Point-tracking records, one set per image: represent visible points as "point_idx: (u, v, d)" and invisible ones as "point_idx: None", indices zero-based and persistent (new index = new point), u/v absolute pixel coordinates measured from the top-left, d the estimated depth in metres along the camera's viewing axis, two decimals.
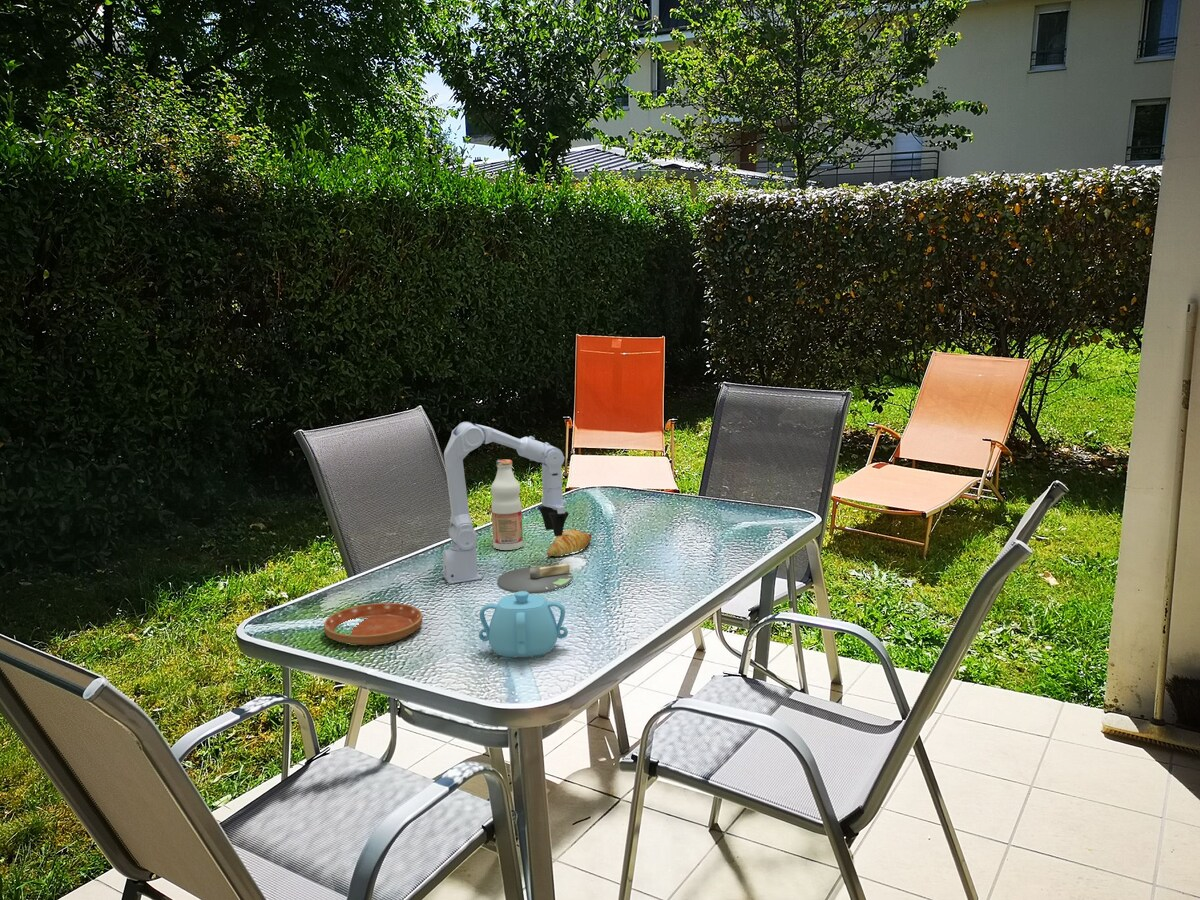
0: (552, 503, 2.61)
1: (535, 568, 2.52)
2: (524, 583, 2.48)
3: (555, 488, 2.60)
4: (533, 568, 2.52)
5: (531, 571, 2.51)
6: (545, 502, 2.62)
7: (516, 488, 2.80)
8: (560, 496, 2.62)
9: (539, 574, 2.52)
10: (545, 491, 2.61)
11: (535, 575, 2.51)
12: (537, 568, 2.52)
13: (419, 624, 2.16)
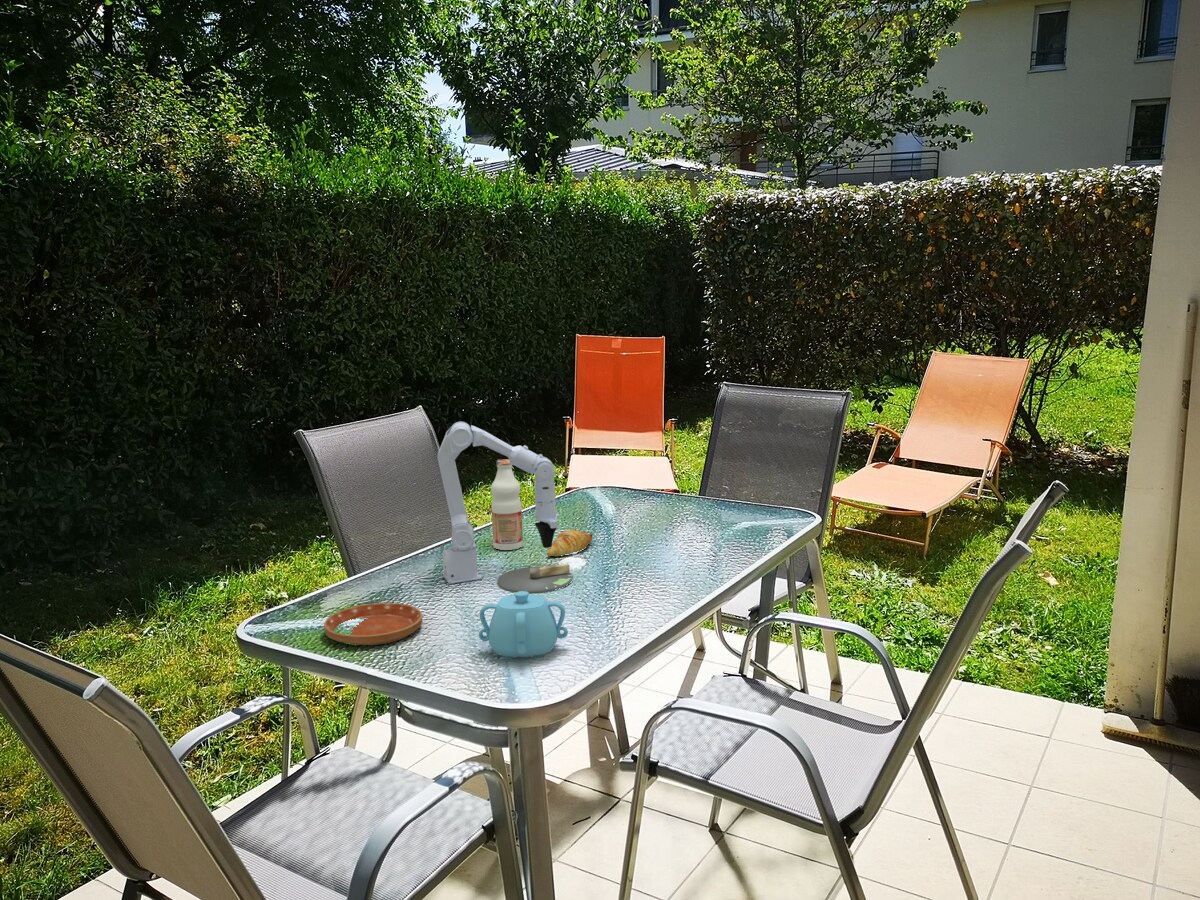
0: (545, 517, 2.55)
1: (535, 568, 2.52)
2: (524, 583, 2.48)
3: (548, 502, 2.54)
4: (533, 568, 2.52)
5: (531, 571, 2.51)
6: (538, 516, 2.56)
7: (516, 488, 2.80)
8: (553, 510, 2.56)
9: (539, 574, 2.52)
10: (538, 505, 2.55)
11: (535, 575, 2.51)
12: (537, 568, 2.52)
13: (419, 624, 2.16)
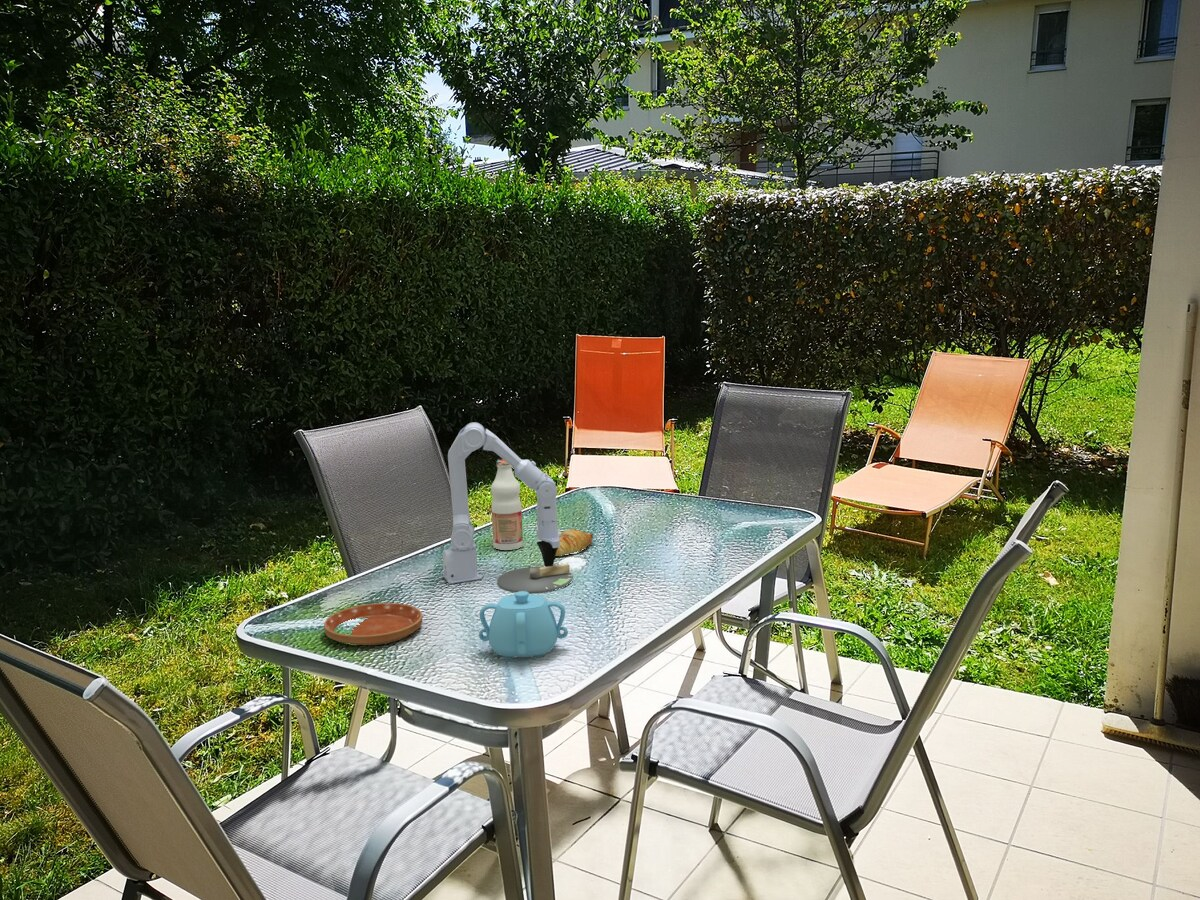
0: (547, 537, 2.55)
1: (535, 568, 2.52)
2: (524, 583, 2.48)
3: (550, 521, 2.54)
4: (533, 568, 2.52)
5: (531, 571, 2.51)
6: (540, 535, 2.56)
7: (516, 488, 2.80)
8: (555, 529, 2.56)
9: (539, 574, 2.52)
10: (540, 524, 2.55)
11: (535, 575, 2.51)
12: (537, 568, 2.52)
13: (419, 624, 2.16)
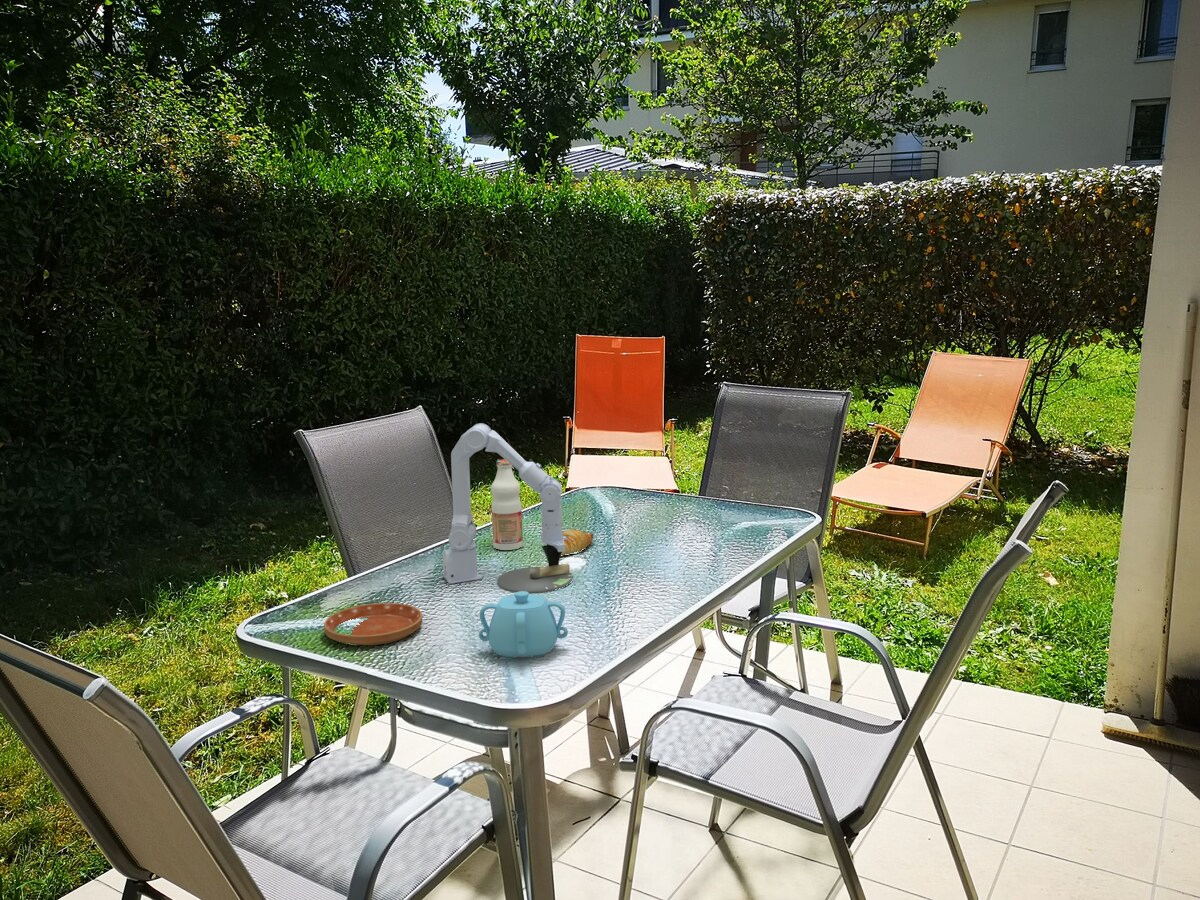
0: (552, 540, 2.51)
1: (535, 568, 2.52)
2: (524, 583, 2.48)
3: (555, 525, 2.51)
4: (533, 568, 2.52)
5: (531, 571, 2.51)
6: (545, 539, 2.52)
7: (516, 488, 2.80)
8: (560, 533, 2.52)
9: (539, 574, 2.52)
10: (545, 528, 2.51)
11: (535, 575, 2.51)
12: (537, 568, 2.52)
13: (419, 624, 2.16)
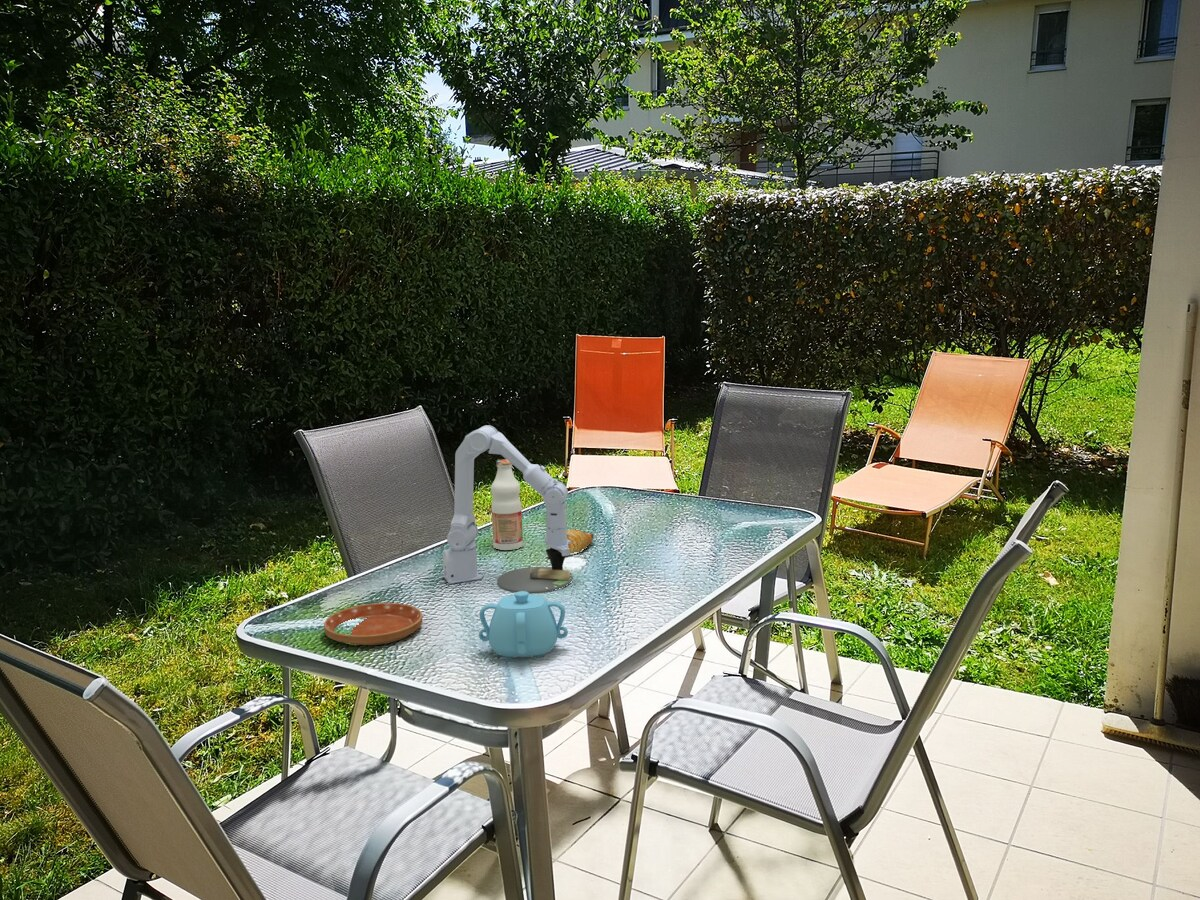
0: (556, 544, 2.48)
1: (535, 568, 2.52)
2: (524, 583, 2.48)
3: (559, 528, 2.47)
4: (533, 568, 2.52)
5: (530, 570, 2.52)
6: (549, 543, 2.48)
7: (516, 488, 2.80)
8: (564, 536, 2.49)
9: (537, 575, 2.51)
10: (549, 531, 2.48)
11: (532, 575, 2.51)
12: (536, 569, 2.51)
13: (419, 624, 2.16)
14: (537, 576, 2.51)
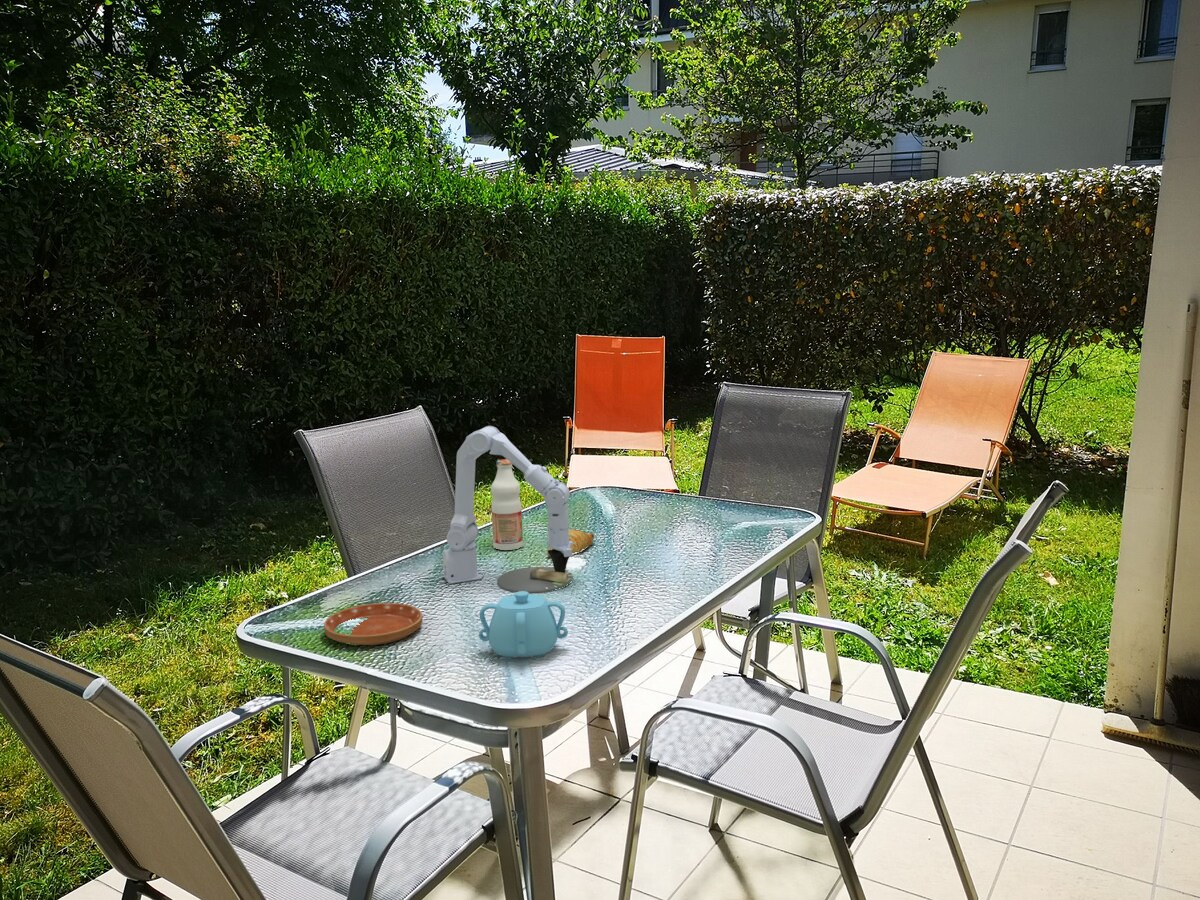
0: (558, 545, 2.46)
1: (535, 568, 2.52)
2: (524, 583, 2.48)
3: (561, 529, 2.46)
4: (534, 568, 2.52)
5: (530, 570, 2.52)
6: (551, 544, 2.47)
7: (516, 488, 2.80)
8: (567, 537, 2.47)
9: (536, 576, 2.51)
10: (551, 532, 2.46)
11: (531, 575, 2.51)
12: (536, 569, 2.51)
13: (419, 624, 2.16)
14: (536, 576, 2.51)
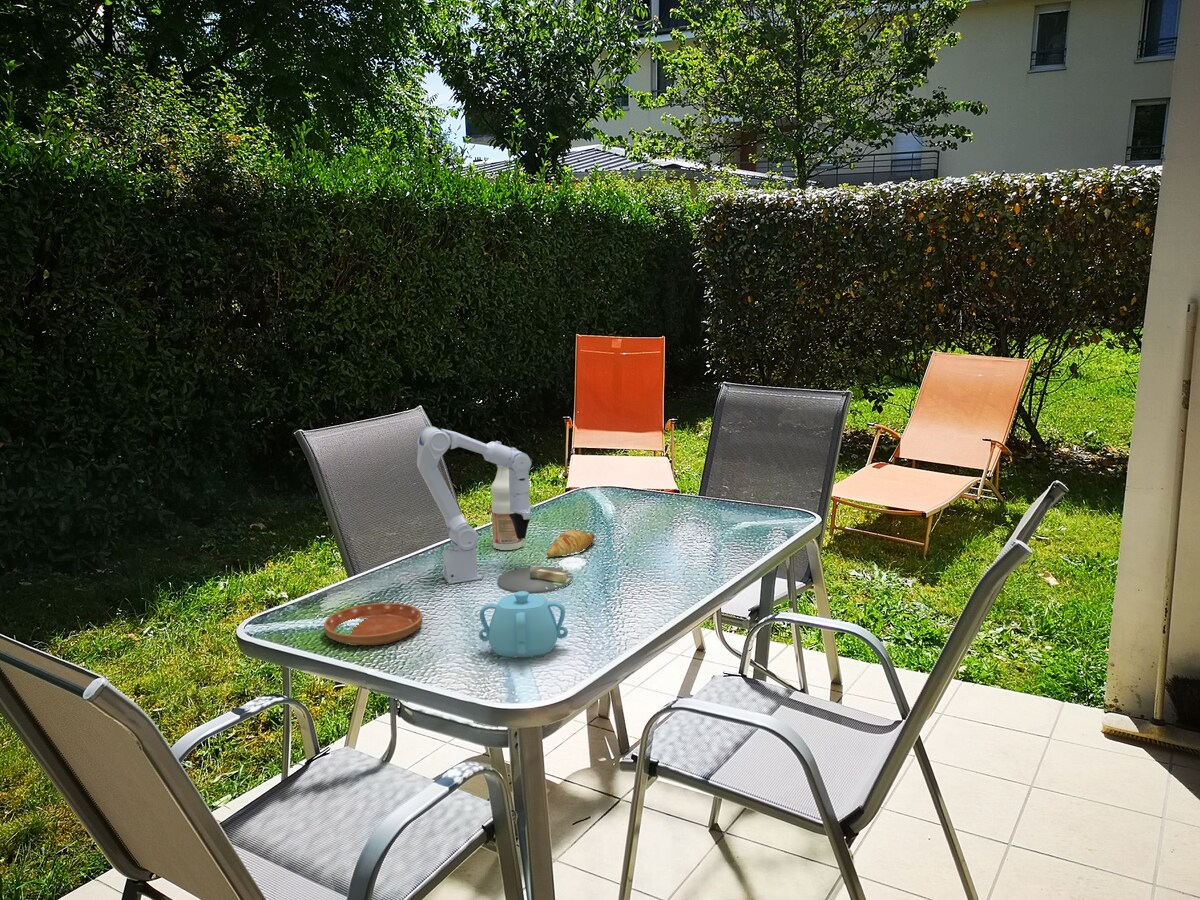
0: (519, 508, 2.58)
1: (535, 568, 2.52)
2: (524, 583, 2.48)
3: (522, 493, 2.58)
4: (534, 568, 2.52)
5: (530, 570, 2.52)
6: (512, 507, 2.59)
7: None
8: (527, 501, 2.59)
9: (536, 576, 2.51)
10: (512, 496, 2.58)
11: (531, 575, 2.51)
12: (536, 569, 2.51)
13: (419, 624, 2.16)
14: (536, 576, 2.51)
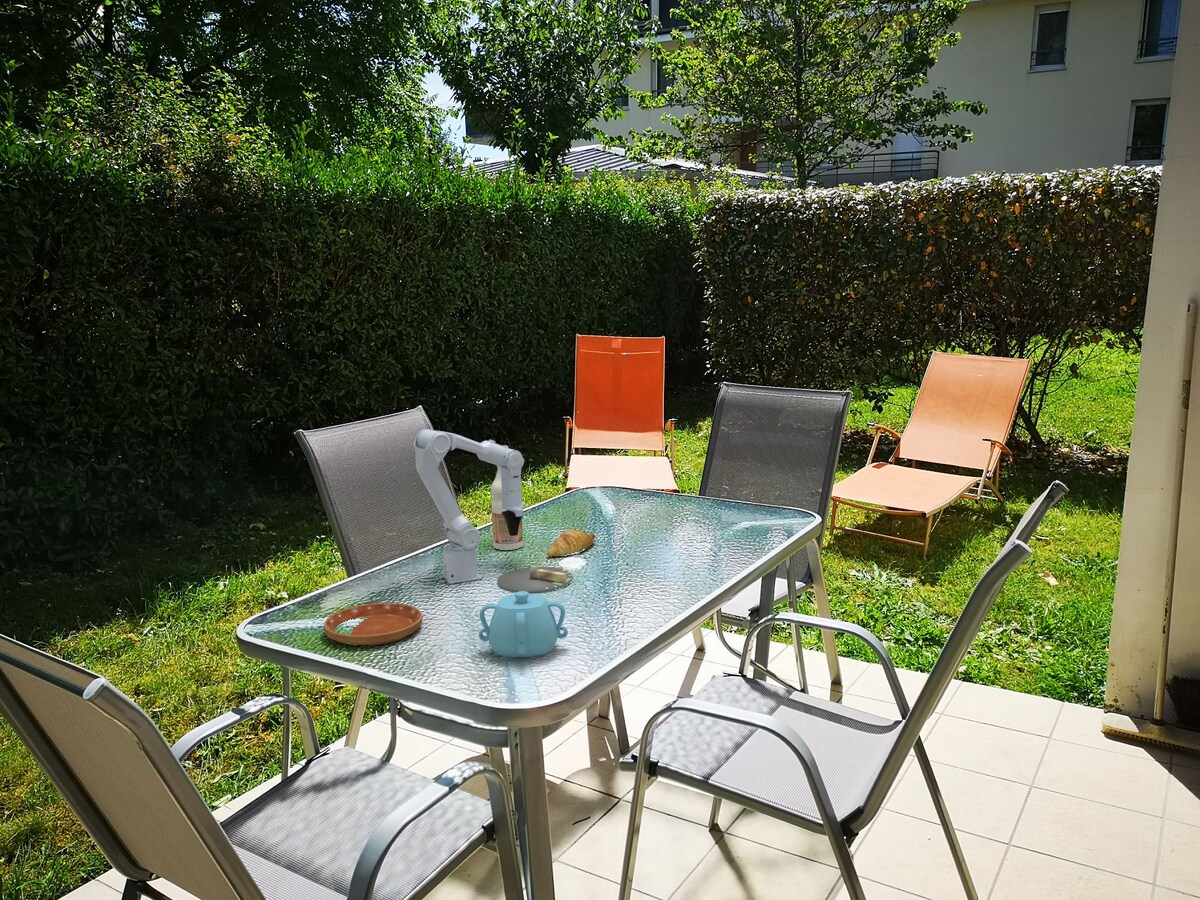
0: (511, 506, 2.61)
1: (535, 568, 2.52)
2: (524, 583, 2.48)
3: (514, 491, 2.60)
4: (534, 568, 2.52)
5: (530, 570, 2.52)
6: (504, 505, 2.61)
7: None
8: (519, 499, 2.62)
9: (536, 576, 2.51)
10: (504, 494, 2.61)
11: (531, 575, 2.51)
12: (536, 569, 2.51)
13: (419, 624, 2.16)
14: (536, 576, 2.51)
